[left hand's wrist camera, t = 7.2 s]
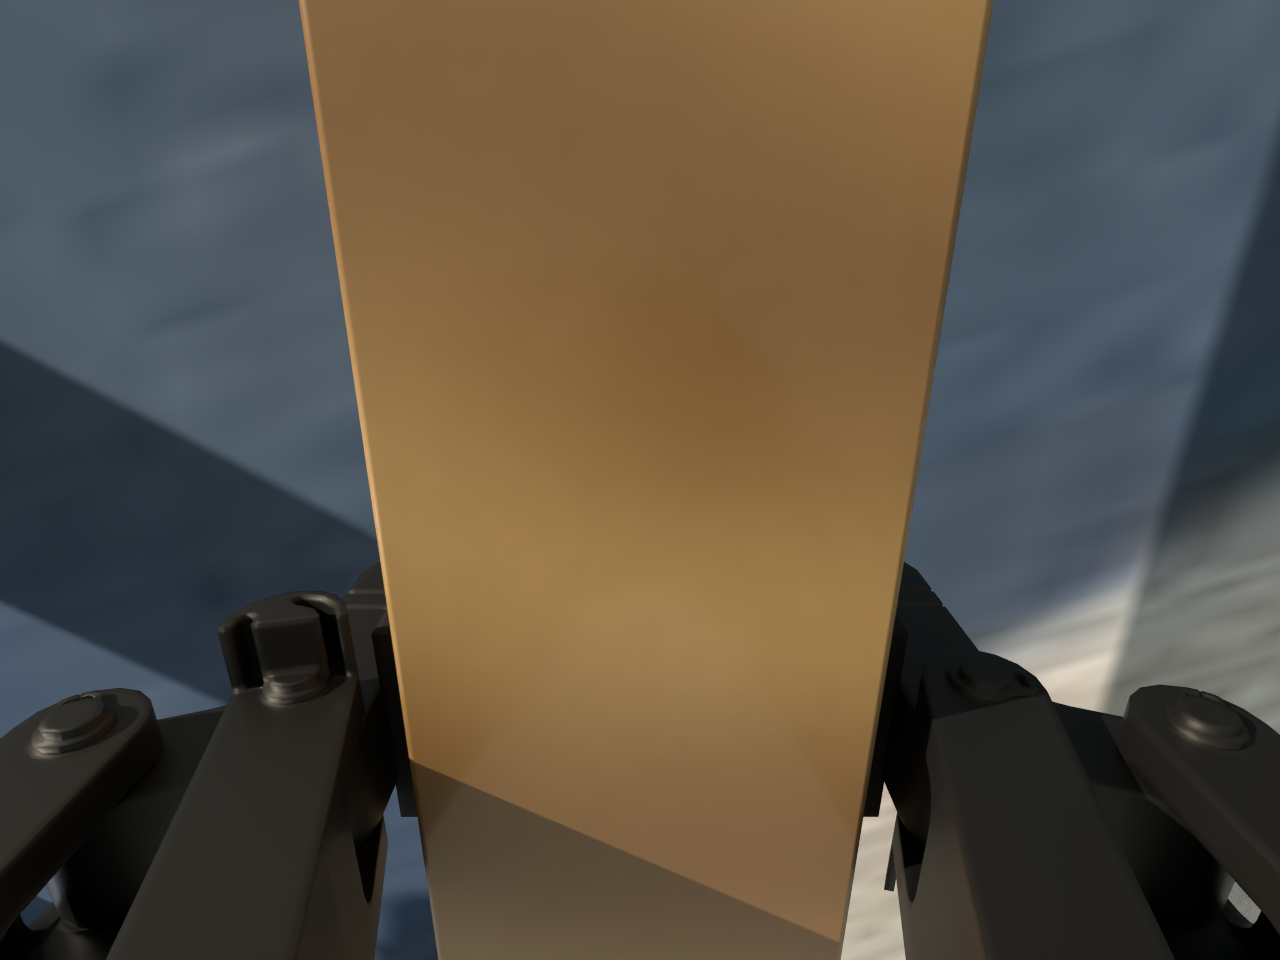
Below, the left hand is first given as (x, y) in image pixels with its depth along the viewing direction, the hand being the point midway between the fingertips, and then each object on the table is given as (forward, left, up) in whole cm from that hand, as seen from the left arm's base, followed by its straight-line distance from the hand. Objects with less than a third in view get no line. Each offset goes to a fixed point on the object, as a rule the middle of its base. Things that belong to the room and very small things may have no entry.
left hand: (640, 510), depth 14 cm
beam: (+9, +26, 0) cm, 28 cm away
